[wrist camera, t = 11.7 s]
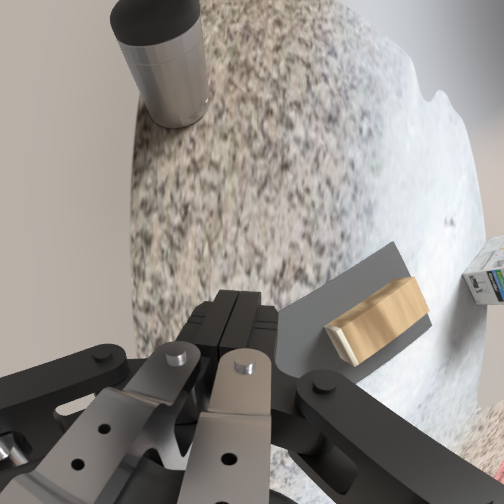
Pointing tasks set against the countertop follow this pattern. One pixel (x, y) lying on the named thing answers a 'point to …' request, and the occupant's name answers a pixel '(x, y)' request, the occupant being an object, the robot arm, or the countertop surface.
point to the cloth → (500, 474)
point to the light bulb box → (487, 273)
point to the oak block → (377, 320)
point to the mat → (331, 307)
